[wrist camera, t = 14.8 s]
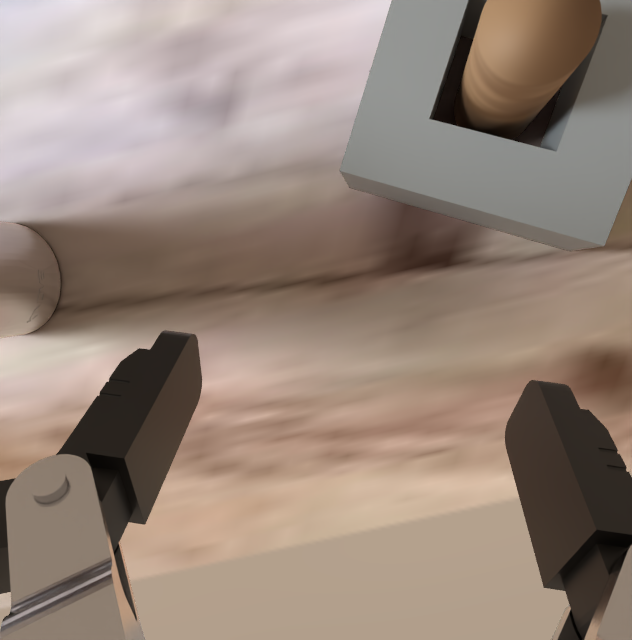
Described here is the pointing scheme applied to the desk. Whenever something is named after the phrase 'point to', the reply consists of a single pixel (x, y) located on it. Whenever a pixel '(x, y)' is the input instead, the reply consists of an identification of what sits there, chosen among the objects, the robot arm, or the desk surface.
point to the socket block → (491, 151)
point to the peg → (522, 61)
